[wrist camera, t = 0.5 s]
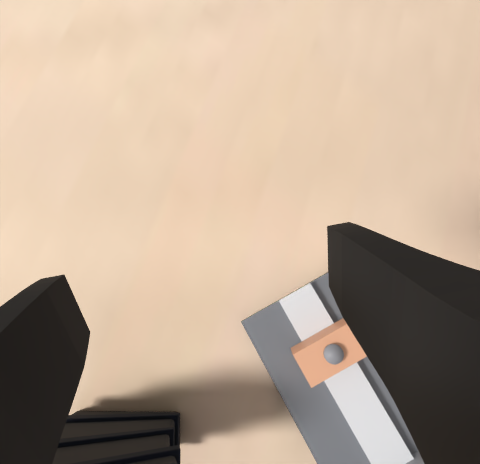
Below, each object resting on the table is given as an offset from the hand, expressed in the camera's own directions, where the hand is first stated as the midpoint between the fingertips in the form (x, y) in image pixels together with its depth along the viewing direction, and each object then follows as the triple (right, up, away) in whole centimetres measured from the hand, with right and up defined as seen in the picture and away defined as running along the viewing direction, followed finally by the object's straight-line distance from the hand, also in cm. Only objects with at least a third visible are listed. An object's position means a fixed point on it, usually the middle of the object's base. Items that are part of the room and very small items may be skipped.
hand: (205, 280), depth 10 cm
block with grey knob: (+9, -9, +23) cm, 27 cm away
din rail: (+11, -13, +24) cm, 30 cm away
